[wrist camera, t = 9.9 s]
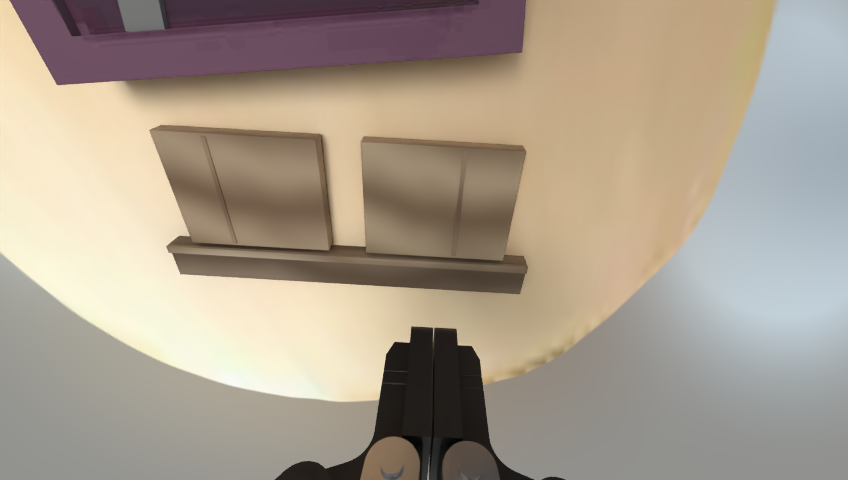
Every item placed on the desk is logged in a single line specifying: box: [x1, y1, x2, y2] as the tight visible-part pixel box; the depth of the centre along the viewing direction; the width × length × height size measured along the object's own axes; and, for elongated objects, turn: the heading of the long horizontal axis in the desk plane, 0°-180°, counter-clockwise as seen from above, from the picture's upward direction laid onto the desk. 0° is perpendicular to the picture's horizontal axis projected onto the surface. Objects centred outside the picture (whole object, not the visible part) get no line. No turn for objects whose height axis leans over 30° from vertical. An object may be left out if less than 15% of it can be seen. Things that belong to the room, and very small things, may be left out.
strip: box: [166, 236, 528, 294], centre depth 30 cm, size 3×29×2 cm, turn 87°
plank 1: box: [149, 125, 333, 250], centre depth 26 cm, size 9×11×1 cm
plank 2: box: [361, 137, 526, 261], centre depth 26 cm, size 9×11×1 cm
